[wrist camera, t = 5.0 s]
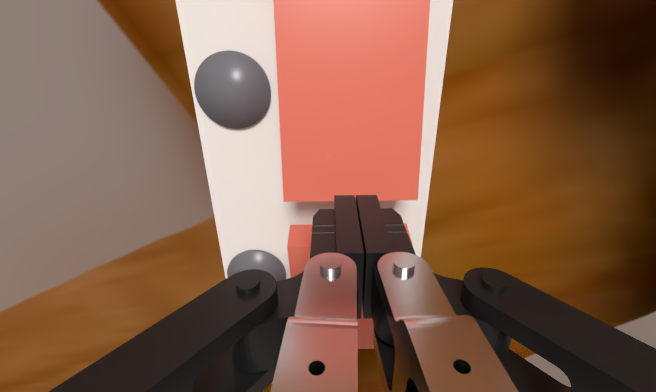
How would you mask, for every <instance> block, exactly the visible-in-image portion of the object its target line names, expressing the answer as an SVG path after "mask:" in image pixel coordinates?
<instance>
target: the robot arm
mask: <svg viewBox="0 0 656 392" xmlns="http://www.w3.org/2000/svg"><path fill="white" fill-rule="evenodd" d="M362 310H363V318H372V320H373V326H374V327H373V345H374V349H375V353H376V357H377V362H378V366H379V370H380V374H381V379H382V383H383V387H384V391H385V392H656V349H655V348H653V347H651V346H649V345H647V344H645V343H643V342H641V341H639V340H637V339H635V338H633V337H631V336H629V335H627V334H625V333H623V332H621V331H619V330H617V329H616V328H614V327H612V326H610V325H608V324H606V323H604V322H602V321H600V320H598V319H596V318H594V317H592V316H590V315H588V314H586V313H584V312H582V311H580V310H578V309H576V308H574V307H572V306H570V305H568V304H566V303H564V302H562V301H560V300H558V299H556V298H554V297H552V296H550V295H548V294H546V293H544V292H543V291H541V290H539V289H537V288H535V287H533V286H531V285H529V284H527V283H525V282H523V281H521V280H519V279H517V278H515V277H513V276H511V275H509V274H507V273H505V272H502V271H499V270H496V269H492V268H475V269H472V270H470V271H468V272H467V273H466V274H465V276H464V280H463V281H462V280H457V279H452V278H447V277H443V276H440V275H437V274H435V273H433V272H432V270H431V268H430V266H429V265H428V263H427V262H426V261H425V260H424V259H422V258H421V257H419V256H417V255H416V254H415V251H414V248H413V246H412V243H411V241H410V238H409V235H408V233H407V230H406V228H405V226H404V223H403V220H402V217H401V215H400V214H398V213H397V212H396V211H395V210H394V209H392V208H380V204H379V201H378V197H377V195H356V198H355V195H334V209H319V210H318V211H317V212H316V214H315V215H314V216H313V223H312V237H311V250H310V259H309V260H308V261H307V263H306V265H305V268H304V271H303V272H301V273H300V274H298V275H297V276H294V277H292V278H289V279H285V280H281V281H277V282H276V279H275V278H274V276H273V275H272V274H270V273H269V272H266V271H263V270H258V269H250V270H244V271H240V272H238V273H235V274H233V275H231V276H230V277H228V278H227V279H225V280H223V281H222V282H220V283H219V284H217V285H216V286H214V287H212V288H211V289H209V290H208V291H206V292H205V293H203V294H201V295H200V296H198V297H197V298H195V299H194V300H192V301H190V302H189V303H187V304H186V305H184V306H183V307H181V308H179V309H178V310H176V311H175V312H173V313H172V314H170V315H168V316H167V317H165V318H164V319H162V320H161V321H159V322H157V323H156V324H154V325H153V326H151V327H150V328H148V329H146V330H145V331H143V332H142V333H140V334H139V335H137V336H135V337H134V338H132V339H131V340H129V341H128V342H126V343H124V344H123V345H121V346H120V347H118V348H116V349H115V350H113V351H112V352H110V353H109V354H107V355H105V356H104V357H102V358H101V359H99V360H98V361H96V362H94V363H93V364H91V365H90V366H88V367H87V368H85V369H83V370H82V371H80V372H79V373H77V374H76V375H74V376H72V377H71V378H69V379H68V380H66V381H65V382H63V383H61V384H60V385H58V386H57V387H55V388H54V389H52V390H50V391H49V392H262V391H263V390H264V389H265V388H266V387H267V386H268V385H269V384H270V383H271V382H272V381H273V383H272V387H271V391H270V392H358V322H357V319H361V313H362ZM512 338H513V339H514V340H516V341H518V342H519V343H521V344H522V345H524V346H525V347H527V348H529V349H530V350H532V351H533V352H535V353H536V354H538V355H540V356H541V357H543V358H544V359H546V360H548V361H549V362H551V363H552V364H554V365H555V366H557V367H558V368H560V369H561V370H562V371H563V372H564V373H565V374H566V375H567V377H568V378H569V380H570V383H571V387H568V386H565V385H563V384H561V383H560V382H558V381H557V380H555V379H554V378H552V377H551V376H549V375H548V374H546V373H544V372H543V371H541V370H540V369H539V368H537V367H535V366H534V365H533V364H531V363H529V362H528V361H526V360H525V359H524V358H522V357H521V356H519V355H517V354H516V353H514V352H513V351H511V350H510V349H509V346H510V342H511V339H512ZM222 353H223V354H222ZM206 366H207V367H206Z"/></svg>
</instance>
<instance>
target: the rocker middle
mask: <svg viewBox="0 0 656 392" xmlns="http://www.w3.org/2000/svg"><path fill="white" fill-rule="evenodd" d="M273 3H274V22H275V42H276V62H277V81H278V101H279V121H280V140H281V160H282V180H283V199H284V202H307V201H334V195H355V198H356V195H377V197H378V201H393V200H418V190H419V174H420V158H421V142H422V125H423V109H424V93H425V77H426V60H427V44H428V28H429V12H430V0H273Z"/></svg>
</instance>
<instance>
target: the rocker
mask: <svg viewBox="0 0 656 392" xmlns="http://www.w3.org/2000/svg"><path fill="white" fill-rule="evenodd" d="M404 226H405V228H406V230H407V233H408V235H409V238H410V241H411V237H410V234H409V230H408V227H407V223H404ZM311 237H312V224H309V225H290V229H289V236H288V244H287V250H288V258H289V267H290V276H291V278H292V277H294V276H297V275H298V274H300V273H301V272H303V271H304V268H305V265H306V263H307V261H308V260H309V259H310V250H311ZM411 243H412V241H411ZM412 246H413V244H412ZM357 322H358V349H374V345H373V327H374V326H373V320H372V318H363V310H362V313H361V319H357Z"/></svg>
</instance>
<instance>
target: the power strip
mask: <svg viewBox="0 0 656 392" xmlns="http://www.w3.org/2000/svg"><path fill="white" fill-rule="evenodd" d="M176 6H177V11H178V17H179V22H180V28H181V33H182V39H183V44H184V50H185V55H186V61H187V67H188V72H189V78H190V83H191V89H192V94H193V100H194V105H195V111H196V116H197V122H198V127H199V133H200V138H201V144H202V150H203V155H204V161H205V166H206V171H207V177H208V182H209V188H210V194H211V199H212V205H213V211H214V216H215V222H216V227H217V233H218V238H219V244H220V249H221V255H222V260H223V266H224V271H225V277H226V279H227V278H228V277H230V276H231V275H233V274H235V273H238V272H240V271H244V270H250V269H258V270H263V271H266V272H269V273H270V274H272V275H273V276H274V278H275V279H276V282H277V281H281V280H285V279H289V278H291V276H290V267H289V258H288V250H287V244H288V236H289V229H290V225H309V224H312V223H313V216H314V215H315V214H316V212H317V211H318V210H319V209H334V201H307V202H284V199H283V180H282V160H281V140H280V121H279V101H278V81H277V62H276V42H275V22H274V3H273V0H176ZM452 6H453V0H430V12H429V28H428V44H427V60H426V77H425V93H424V109H423V125H422V142H421V158H420V174H419V190H418V200H393V201H379V204H380V208H392V209H394V210H395V211H396V212H397V213H398V214H400V215H401V217H402V220H403V223H407V227H408V230H409V234H410V237H411V241H412V244H413V248H414V251H415V254H416V255H417V256H419V257H421V250H422V242H423V234H424V226H425V218H426V210H427V202H428V195H429V187H430V179H431V171H432V163H433V155H434V147H435V139H436V132H437V124H438V116H439V108H440V100H441V92H442V84H443V76H444V69H445V61H446V53H447V45H448V37H449V29H450V21H451V13H452Z"/></svg>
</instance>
